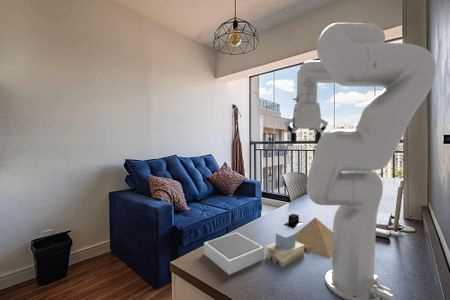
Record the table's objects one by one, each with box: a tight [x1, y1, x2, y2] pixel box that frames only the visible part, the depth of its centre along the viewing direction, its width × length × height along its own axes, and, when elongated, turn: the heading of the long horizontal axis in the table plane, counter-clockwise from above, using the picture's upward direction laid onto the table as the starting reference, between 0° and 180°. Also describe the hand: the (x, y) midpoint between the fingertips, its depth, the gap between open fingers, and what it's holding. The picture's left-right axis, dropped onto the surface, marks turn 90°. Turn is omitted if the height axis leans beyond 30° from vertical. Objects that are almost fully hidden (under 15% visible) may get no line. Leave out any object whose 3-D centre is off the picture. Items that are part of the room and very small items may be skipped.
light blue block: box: [275, 229, 296, 250], centre depth 73 cm, size 4×5×4 cm
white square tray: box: [203, 232, 265, 276], centre depth 73 cm, size 14×14×4 cm
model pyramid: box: [295, 217, 333, 259], centre depth 83 cm, size 17×17×10 cm
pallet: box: [265, 241, 305, 268], centre depth 73 cm, size 7×11×4 cm, turn 126°
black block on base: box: [282, 213, 304, 229], centre depth 101 cm, size 12×7×5 cm, turn 131°
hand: (305, 143), depth 89 cm, fingers open, 9 cm apart
